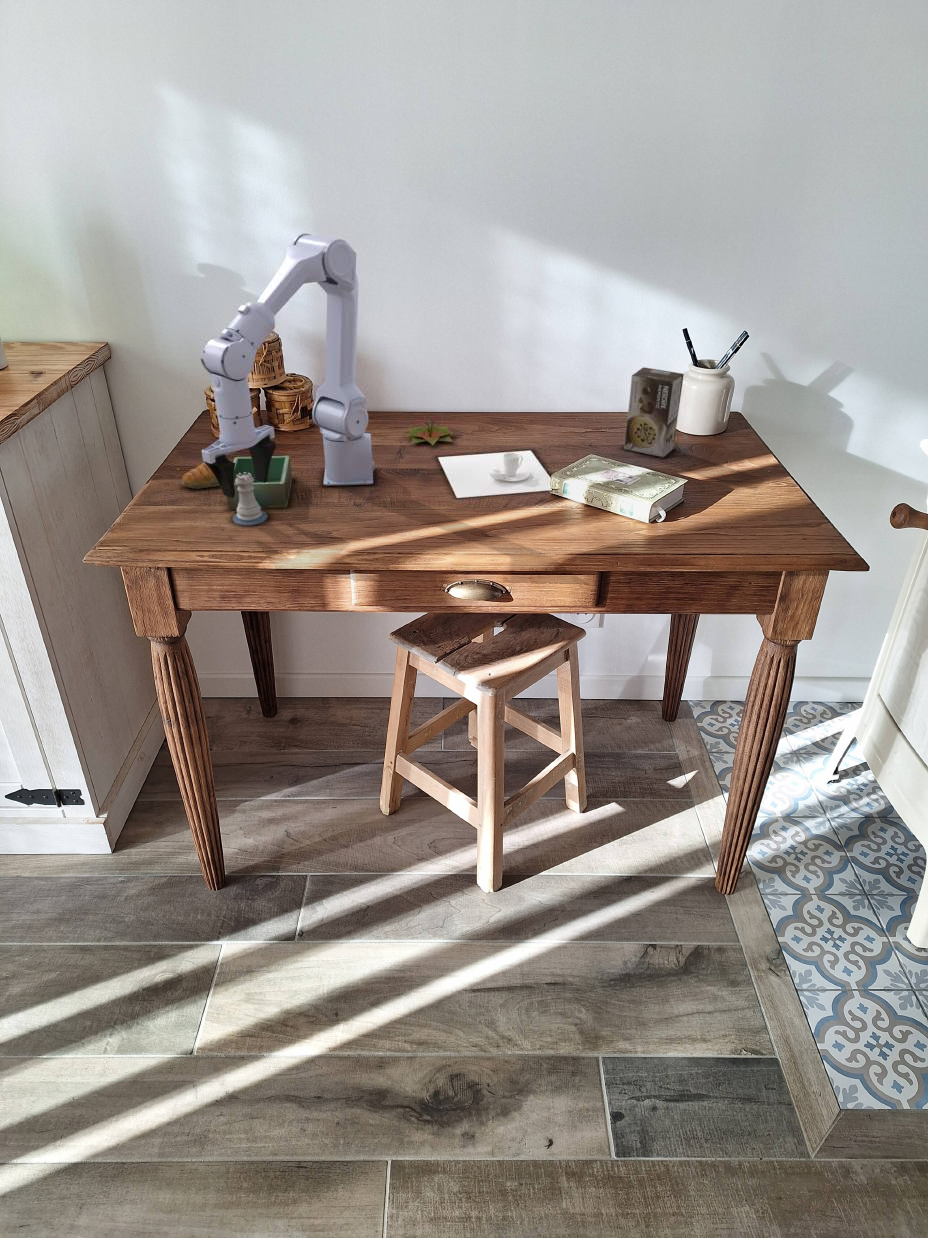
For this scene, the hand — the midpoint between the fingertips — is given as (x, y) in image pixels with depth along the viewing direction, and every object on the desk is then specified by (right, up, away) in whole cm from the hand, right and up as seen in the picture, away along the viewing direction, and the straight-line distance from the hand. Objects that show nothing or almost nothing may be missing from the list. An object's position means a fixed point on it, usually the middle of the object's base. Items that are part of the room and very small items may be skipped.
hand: (245, 488), depth 149 cm
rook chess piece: (0, -5, +3) cm, 6 cm away
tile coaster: (0, -5, +3) cm, 6 cm away
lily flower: (+31, +17, +37) cm, 51 cm away
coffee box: (+78, +13, +32) cm, 85 cm away
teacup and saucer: (+45, +6, +21) cm, 50 cm away
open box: (0, +1, +12) cm, 12 cm away
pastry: (-11, +4, +16) cm, 20 cm away
